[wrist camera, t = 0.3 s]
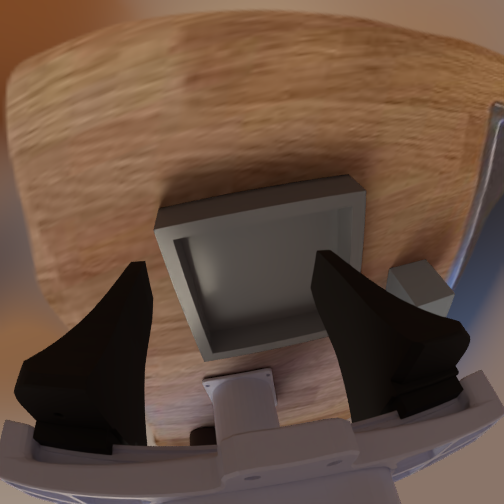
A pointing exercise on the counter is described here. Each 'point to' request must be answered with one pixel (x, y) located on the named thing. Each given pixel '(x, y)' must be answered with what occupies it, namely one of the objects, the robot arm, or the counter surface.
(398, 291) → the tall grey cuboid
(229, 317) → the dark grey square tray
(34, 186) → the counter surface
